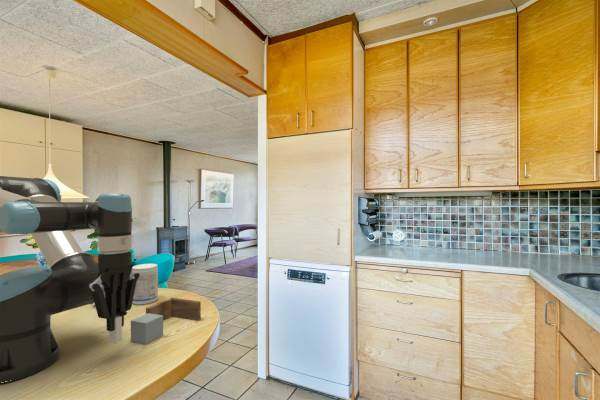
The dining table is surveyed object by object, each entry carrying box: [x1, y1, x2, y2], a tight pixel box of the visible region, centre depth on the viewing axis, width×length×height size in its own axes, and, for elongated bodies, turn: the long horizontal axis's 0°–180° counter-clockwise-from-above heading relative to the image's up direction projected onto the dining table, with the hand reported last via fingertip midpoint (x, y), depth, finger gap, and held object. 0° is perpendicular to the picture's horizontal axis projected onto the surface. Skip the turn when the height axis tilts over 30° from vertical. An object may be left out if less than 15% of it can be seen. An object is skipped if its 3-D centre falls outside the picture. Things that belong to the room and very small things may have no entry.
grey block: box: [130, 313, 164, 345], centre depth 83 cm, size 6×6×6 cm
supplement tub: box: [131, 263, 159, 306], centre depth 116 cm, size 10×10×15 cm
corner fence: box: [145, 297, 202, 322], centre depth 94 cm, size 11×13×6 cm
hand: (115, 341), depth 74 cm, fingers closed
